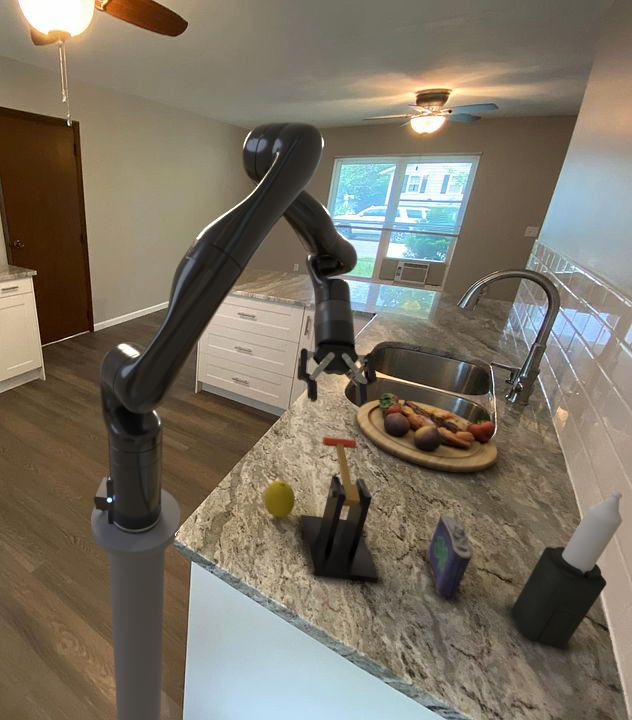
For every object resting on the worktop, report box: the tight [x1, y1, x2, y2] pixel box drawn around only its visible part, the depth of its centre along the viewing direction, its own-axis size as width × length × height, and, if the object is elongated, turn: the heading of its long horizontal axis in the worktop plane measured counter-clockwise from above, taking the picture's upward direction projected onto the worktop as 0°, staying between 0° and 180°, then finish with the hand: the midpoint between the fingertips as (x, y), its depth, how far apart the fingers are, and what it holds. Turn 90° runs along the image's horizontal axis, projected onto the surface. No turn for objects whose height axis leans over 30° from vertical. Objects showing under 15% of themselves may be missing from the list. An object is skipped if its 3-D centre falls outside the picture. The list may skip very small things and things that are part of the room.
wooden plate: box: [355, 392, 499, 473], centre depth 101 cm, size 32×32×8 cm
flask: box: [425, 514, 472, 601], centre depth 62 cm, size 9×3×11 cm, turn 162°
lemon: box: [263, 480, 295, 518], centre depth 73 cm, size 6×6×8 cm
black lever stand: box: [300, 475, 379, 584], centre depth 65 cm, size 12×10×14 cm
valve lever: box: [322, 436, 360, 507], centre depth 67 cm, size 12×5×2 cm, turn 173°
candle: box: [511, 491, 623, 649], centre depth 51 cm, size 5×5×25 cm
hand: (337, 403), depth 73 cm, fingers open, 8 cm apart
